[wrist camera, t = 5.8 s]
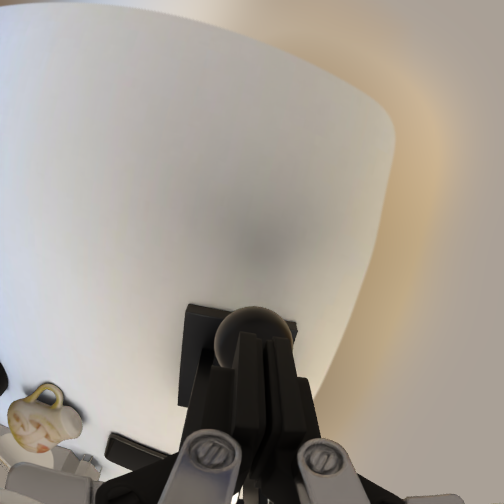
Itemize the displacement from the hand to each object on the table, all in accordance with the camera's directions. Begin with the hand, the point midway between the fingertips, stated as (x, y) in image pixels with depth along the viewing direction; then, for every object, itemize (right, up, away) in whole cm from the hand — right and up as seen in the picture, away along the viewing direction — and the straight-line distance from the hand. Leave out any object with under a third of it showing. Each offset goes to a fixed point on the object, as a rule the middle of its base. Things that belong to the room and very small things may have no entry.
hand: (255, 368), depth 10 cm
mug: (-24, -15, +16) cm, 32 cm away
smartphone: (-11, -23, +19) cm, 31 cm away
